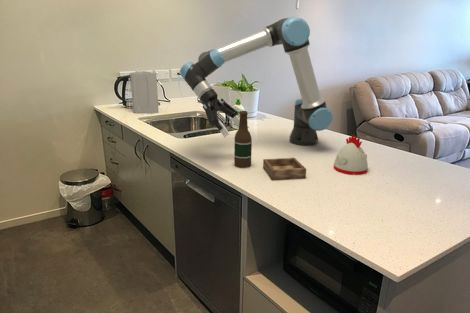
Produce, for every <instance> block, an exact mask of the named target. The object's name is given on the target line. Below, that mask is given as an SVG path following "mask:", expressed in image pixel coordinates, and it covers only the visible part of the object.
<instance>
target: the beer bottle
mask: <svg viewBox="0 0 470 313" xmlns="http://www.w3.org/2000/svg"><path fill="white" fill-rule="evenodd" d="M238 114H239V119H240V121H239V128H238V130H237V131H236V133H235V135H234V144H233V145H234V146H233V147H234V150H233V151H234V152H233V153H234V158H233V159H234V166H235V167H237V168H240V169H242V168H243V169H247V168H250V167H251V165H252V151H253V150H252V146H253V145H252V144H253V143H252V135H251V132H250V131H249V127H248V114H249V113H248V111H247V110H240V111H239V112H238Z"/></svg>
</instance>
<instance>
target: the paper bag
mask: <svg viewBox="0 0 470 313" xmlns="http://www.w3.org/2000/svg"><path fill="white" fill-rule="evenodd" d="M129 74H130V77H129V78H130V87H131V98H132V112H133V114H136V115H138V114H140V115H141V114H142V115H143V114H159V113H160V112H159V97H158V83H157V73H156V72H151V71H145V70H141V71H140V70H138V71H135V72H134V71H133V72H130V73H129Z"/></svg>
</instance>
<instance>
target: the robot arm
mask: <svg viewBox="0 0 470 313" xmlns="http://www.w3.org/2000/svg"><path fill="white" fill-rule="evenodd" d="M310 33H311V29H310V26H309V24H308V22H307V21H306V19H305V20H304V19H303V18H302V17H297V16H292V17H286V18H285V17H284V18H282V19H279V20H277V21H275V22H274V23H271V24H269V25H267V26H265V27H263V29H262V30H259V31H257V32H255V33H252V34H250V35H246V36H244V37H242V38H239V39H236V40H233V41H232V42H229V43H225V44H224V45H221V46H219V47H215V48H214V49H210V50H208V51H204V52H201V53H200V54H199V55H198V58H197V62H195V63H194V62H193V61H188V62H186V63H185V64H183V65H182V66H181V67H180V70H179V73H180V76H182V79H183V80H184V82H186V84H187V85H188V86H189V87H190V89H191V90H192V91H193V93H194V94H195V95H196V97H197V98H198V99H199V101H200V102H201V103H202V108H203V110H204V112H205V115H206V118H207V120H208V124H209V125H210V126H212V127H215V128H217V130H218V132H220V133H221V135H222V136H223V138H226V137H228V135H230V132H229V130H228V129H227V128H226V126H225V125H224V124H223V123H222V121H221V120H219V115H218V112H221V113H223V114H225V115H227V116H229V117H230V118H231V120H232V122H233V123H234V124H235V125H236V127H237V128H238V129H239V121H240V117H238V114H239V111H237V110H236V109H235V108H233V107H232V105H230V104H228V103H227V101H226V100H224V99H223V98H221V99H220V100H219V99H218V96H219V94H218V93H217V92H216V91H215V89H214V88H213V87H212V86H211V84H210V83H209V81H208V80H207V79H206V78H207V77H209V76H210V75H211V74H212V73H214V72H215V71H216V70H218V69H220V68H221V67H222V66H223V65H224V64H225V63H227V62H229V61H230V62H231V61H232V60H236V59H237V58H241V57H243V56H246V55H248V54H251V53H253V52H256V51H258V50H261V49H264V48H266V47H268V48H269V47H270V48H272V47H275V46H278V45H282V48H283V50H284V53H285V54H287V55H288V56H289V59H290V64H291V66H292V69H293V73H294V75H295V80H296V84H297V85H298V90H299V93H300V97H301V98H299V99H296V100H295V101H294V102H295V103H294V110H293V111H294V114H293V115H294V116H293V127H292V130H291V132H290V135H289V141H288V142H290V143H291V144H294V145H297V146H298V145H299V146H314V145H317V144H318V143H319V137H318V132H321V131H324V130H326V129H328V127H330V125H331V124H332V122H333V118H334V117H333V113H332V111H331V110H330V109H329V108H328V107H327V103H326V99H325V98H323V97H321V94H320V90H319V86H318V82H317V78H316V75H315V72H314V68H313V65H312V60H311V58H310V57H311V56H310V53H309V50H308V48H309V46H310V39H309V37H310V35H311V34H310ZM317 131H318V132H317Z"/></svg>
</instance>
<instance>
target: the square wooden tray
mask: <svg viewBox="0 0 470 313" xmlns="http://www.w3.org/2000/svg"><path fill="white" fill-rule="evenodd" d="M262 162H263V163H262V168H263V170H264V172H265V173H266V174H267V175H268V177H269V179H270V180H271V181H280V180H281V181H282V180H283V181H284V180H296V179H297V180H299V179H300V180H301V179H306V178H307V177H306V176H307V168H306V167H305V166H304V165H303V164H302V163H301V162H300V161H299V160H298V159H296V158H295V157H280V158H263V160H262Z"/></svg>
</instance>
